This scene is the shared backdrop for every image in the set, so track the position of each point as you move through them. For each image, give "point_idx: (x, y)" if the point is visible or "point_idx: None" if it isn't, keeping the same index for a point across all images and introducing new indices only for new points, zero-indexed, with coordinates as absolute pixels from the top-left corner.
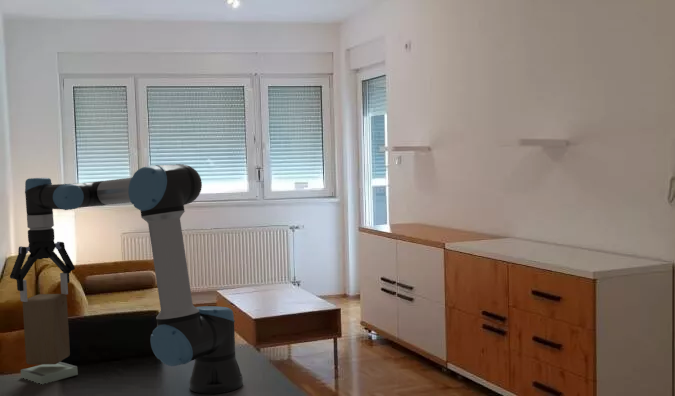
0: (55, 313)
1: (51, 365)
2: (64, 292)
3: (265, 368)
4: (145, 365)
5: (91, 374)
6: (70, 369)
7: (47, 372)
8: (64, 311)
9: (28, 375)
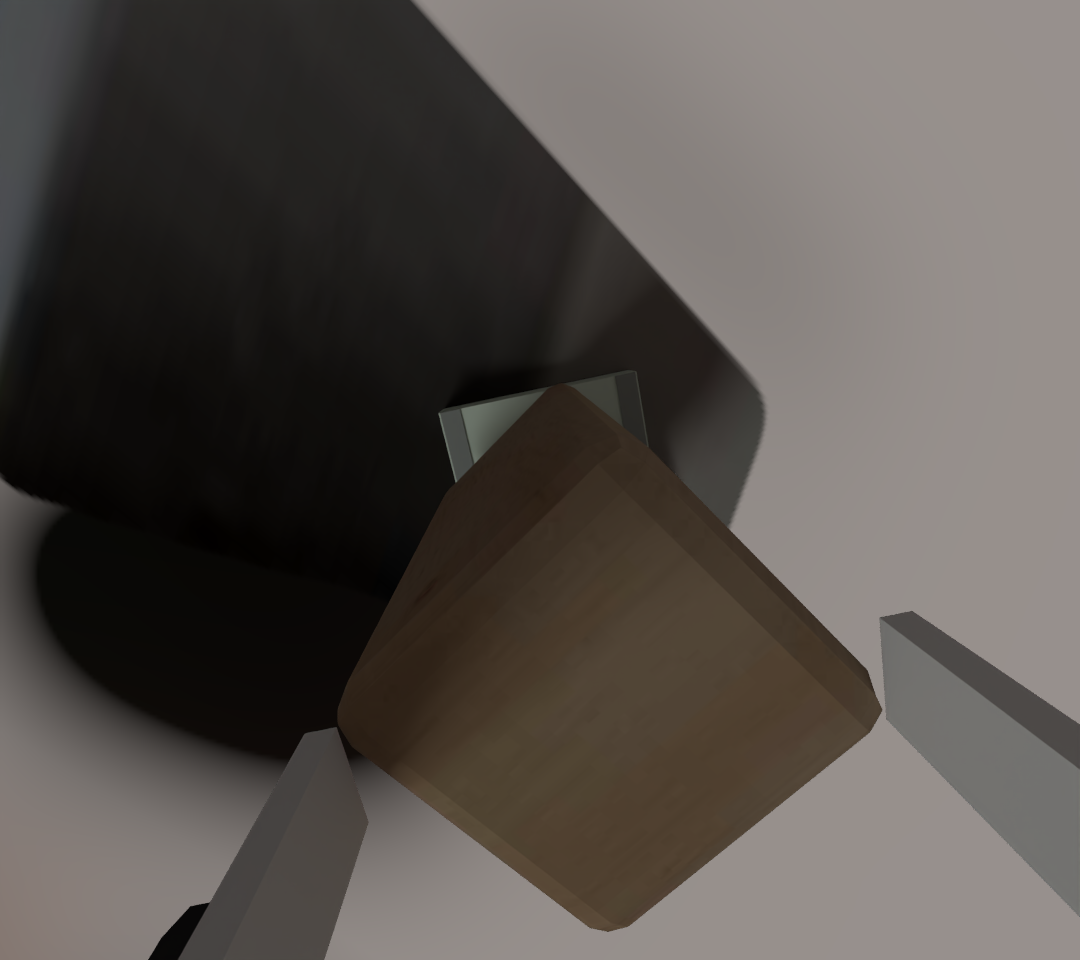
0: (566, 429)
1: None
2: (338, 770)
3: None
4: (111, 314)
5: (390, 363)
6: (477, 404)
7: None
8: (429, 562)
9: None
